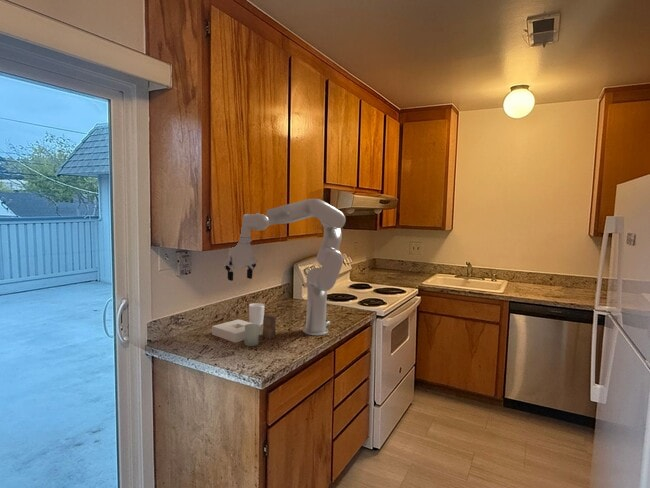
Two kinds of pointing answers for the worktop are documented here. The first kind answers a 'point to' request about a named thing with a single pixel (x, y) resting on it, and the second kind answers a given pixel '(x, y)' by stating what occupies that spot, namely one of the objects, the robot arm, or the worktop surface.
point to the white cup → (256, 313)
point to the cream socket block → (232, 330)
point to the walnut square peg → (269, 326)
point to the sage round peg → (251, 334)
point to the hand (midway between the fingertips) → (240, 279)
